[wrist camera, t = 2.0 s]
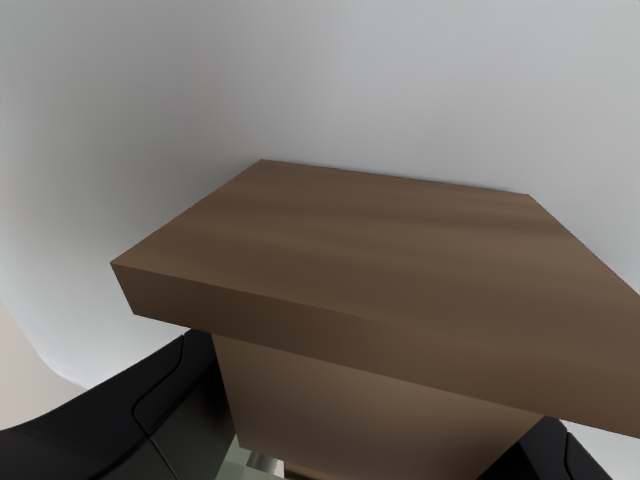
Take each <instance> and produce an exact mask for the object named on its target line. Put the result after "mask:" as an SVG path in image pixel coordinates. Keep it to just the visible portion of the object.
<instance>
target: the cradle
mask: <svg viewBox="0 0 640 480" xmlns="http://www.w3.org/2000/svg"><path fill="white" fill-rule="evenodd" d="M277 461H278V459H275V458H272V457H269V456H266V455H262V454H259V453H256V452H253V451H250V450H246V449H243V448H240V447H239V443H238V439H237V435H235V437H234V439H233V441H232V443H231V446H230V448H229V450H228V452H227V454H226V457H225V459H224V461H223V463H222V465H221V467H220V470H219V472H218V474H217V476H216V478H215V480H287V479H284V478H281V477H278V476H275V475H274V471H275V468H276V465H277Z"/></svg>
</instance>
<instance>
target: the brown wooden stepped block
mask: <svg viewBox="0 0 640 480" xmlns="http://www.w3.org/2000/svg"><path fill="white" fill-rule="evenodd" d="M110 264H111V267H112V269H113V271H114V273H115V275H116V277H117V279H118V282H119V284H120V286H121V288H122V290H123V292H124V294H125V297H126V299H127V301H128V303H129V305H130V307H131V309H132V312H133V314H135V315H139V316H143V317H147V318H151V319H155V320H159V321H163V322H167V323H171V324H175V325H179V326H183V327H187V328H191V329H196V330H200V331H204V332H208V333H211V335H212V339H213V343H214V347H215V351H216V355H217V359H218V363H219V367H220V371H221V375H222V379H223V383H224V387H225V391H226V395H227V399H228V403H229V407H230V411H231V415H232V419H233V423H234V427H235V431H236V435H237V439H238V443H239V447H240V448H243V449H246V450H250V451H253V452H256V453H259V454H262V455H266V456H269V457H272V458H275V459H278V460H282V461H284V479H287V480H476V479H477V478H478V477H479V476H480V475H481V474H482V473H483V472H484V471H485V470H486V469H488V468H489V467H490V466H491V465H492V464H493V463H494V462H495V461H496V460H497V459H498V458H499V457H500V456H502V455H503V454H504V453H505V452H506V451H507V450H508V449H509V448H510V447H511V446H512V445H513V444H514V443H516V442H517V441H518V440H519V439H520V438H521V437H522V436H523V435H524V434H525V433H526V432H527V431H528V430H530V429H531V428H532V427H533V426H534V425H535V424H536V423H537V422H538V421H539V420H540V419H541V418H543V417H544V416H549V417H553V418H557V419H561V420H565V421H569V422H574V423H578V424H582V425H586V426H590V427H594V428H598V429H602V430H606V431H610V432H614V433H618V434H622V435H626V436H630V437H634V438H639V439H640V295H638V294H637V293H636V292H635V291H634V290H633V289H632V288H631V287H630V286H629V285H627V284H626V283H625V282H624V281H623V280H622V279H621V278H620V277H619V276H618V275H616V274H615V273H614V272H613V271H612V270H611V269H610V268H609V267H608V266H607V265H605V264H604V263H603V262H602V261H601V260H600V259H599V258H598V257H597V256H596V255H594V254H593V253H592V252H591V251H590V250H589V249H588V248H587V247H586V246H585V245H584V244H582V243H581V242H580V241H579V240H578V239H577V238H576V237H575V236H574V235H573V234H571V233H570V232H569V231H568V230H567V229H566V228H565V227H564V226H563V225H562V224H560V223H559V222H558V221H557V220H556V219H555V218H554V217H553V216H552V215H551V214H549V213H548V212H547V211H546V210H545V209H544V208H543V207H542V206H541V205H540V204H538V203H537V202H536V201H535V200H534V199H533V198H532V197H531V196H530V195H528V194H520V193H512V192H505V191H497V190H490V189H482V188H475V187H467V186H459V185H452V184H444V183H437V182H429V181H421V180H414V179H406V178H399V177H391V176H384V175H376V174H368V173H361V172H353V171H346V170H338V169H330V168H323V167H315V166H308V165H300V164H293V163H285V162H277V161H270V160H262V159H261V160H260V161H258V162H257V163H255V164H254V165H252V166H251V167H249V168H248V169H246V170H245V171H244V172H242V173H241V174H239V175H238V176H236V177H235V178H233V179H232V180H230V181H229V182H227V183H226V184H224V185H223V186H222V187H220V188H219V189H217V190H216V191H214V192H213V193H211V194H210V195H208V196H207V197H205V198H204V199H202V200H201V201H199V202H198V203H197V204H195V205H194V206H192V207H191V208H189V209H188V210H186V211H185V212H183V213H182V214H180V215H179V216H177V217H176V218H174V219H173V220H172V221H170V222H169V223H167V224H166V225H164V226H163V227H161V228H160V229H158V230H157V231H155V232H154V233H152V234H151V235H150V236H148V237H147V238H145V239H144V240H142V241H141V242H139V243H138V244H136V245H135V246H133V247H132V248H130V249H129V250H127V251H126V252H125V253H123V254H122V255H120V256H119V257H117V258H116V259H114V260H113V261H111V262H110Z"/></svg>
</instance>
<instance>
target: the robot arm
mask: <svg viewBox="0 0 640 480" xmlns="http://www.w3.org/2000/svg"><path fill="white" fill-rule="evenodd" d="M235 435H236V431H235V427H234V423H233V419H232V415H231V411H230V407H229V403H228V399H227V395H226V391H225V387H224V383H223V379H222V375H221V371H220V367H219V363H218V359H217V355H216V351H215V347H214V343H213V339H212V335H211V333H208V332H204V331H200V330H196V329H190V330H189V331H187V332H186V333H185V334H184V335H181V336H179V337H178V338H176V339H175V340H173V341H172V342H170V343H169V344H167V345H165V346H164V347H162V348H161V349H159V350H158V351H156V352H154V353H153V354H151V355H150V356H148V357H146V358H145V359H143V360H141V361H139V362H138V363H136V364H134V365H133V366H131V367H129V368H127V369H126V370H124V371H122V372H120V373H119V374H117V375H115V376H113V377H111V378H110V379H108V380H106V381H104V382H102V383H101V384H99V385H97V386H95V387H93V388H92V389H90V390H88V391H86V392H84V393H83V394H81V395H79V396H77V397H76V398H74V399H72V400H70V401H68V402H66V403H65V404H63V405H61V406H59V407H58V408H56V409H54V410H52V411H50V412H48V413H46V414H44V415H41V416H39V417H37V418H35V419H33V420H30V421H27V422H25V423H22V424H20V425H17V426H14V427H11V428H8V429H4V430H0V480H215V478H216V476H217V474H218V472H219V470H220V467H221V465H222V463H223V461H224V459H225V457H226V454H227V452H228V450H229V448H230V446H231V443H232V441H233V439H234V437H235ZM476 480H613V479H612V478H611V477H610V476H609V475H608V474H607V472H606V471H605V470H604V469H603V468H602V467H601V466H600V465H599V464H598V463H597V461H596V460H595V459H594V458H593V457H592V456H591V455H590V454H589V453H588V452H587V450H586V449H585V448H584V447H583V446H582V445H581V444H580V442H579V441H578V440H577V439H576V438H575V437H574V436H573V435H572V433H570V432H567V428H566V427H565V426H564V425H563V423H562V422H561V421H560V420H559V419H557V418H553V417H549V416H544V417H543V418H541V419H540V420H539V421H538V422H537V423H536V424H535V425H534V426H533V427H532V428H531V429H530V430H528V431H527V432H526V433H525V434H524V435H523V436H522V437H521V438H520V439H519V440H518V441H517V442H516V443H514V444H513V445H512V446H511V447H510V448H509V449H508V450H507V451H506V452H505V453H504V454H503V455H502V456H500V457H499V458H498V459H497V460H496V461H495V462H494V463H493V464H492V465H491V466H490V467H489V468H488V469H486V470H485V471H484V472H483V473H482V474H481V475H480V476H479V477H478V478H477V479H476Z"/></svg>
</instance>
